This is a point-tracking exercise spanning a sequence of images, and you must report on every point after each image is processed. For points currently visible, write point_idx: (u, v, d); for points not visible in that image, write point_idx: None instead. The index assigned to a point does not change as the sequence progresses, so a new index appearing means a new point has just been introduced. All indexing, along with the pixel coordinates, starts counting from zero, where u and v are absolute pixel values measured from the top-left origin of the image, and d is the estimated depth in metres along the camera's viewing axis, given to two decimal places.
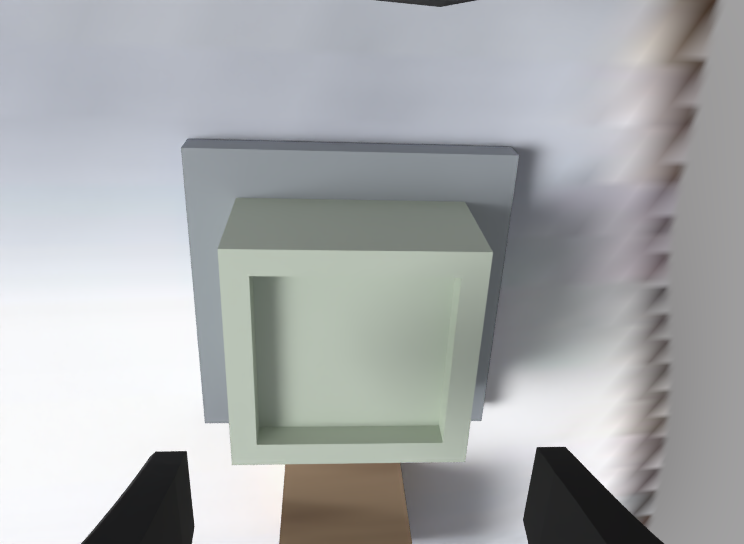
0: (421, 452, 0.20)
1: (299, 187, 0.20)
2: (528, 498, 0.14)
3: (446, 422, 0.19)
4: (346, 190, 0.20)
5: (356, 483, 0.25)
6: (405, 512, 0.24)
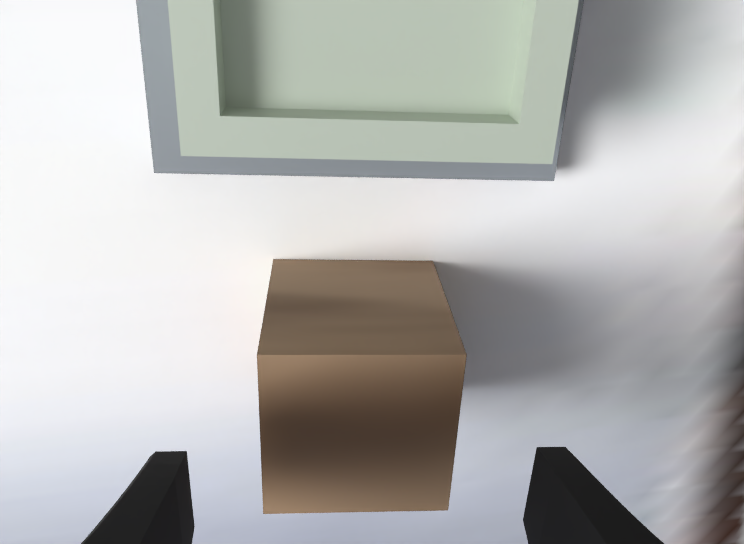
0: (483, 141, 0.12)
1: None
2: (528, 498, 0.14)
3: (527, 83, 0.12)
4: None
5: (373, 279, 0.17)
6: (446, 306, 0.16)
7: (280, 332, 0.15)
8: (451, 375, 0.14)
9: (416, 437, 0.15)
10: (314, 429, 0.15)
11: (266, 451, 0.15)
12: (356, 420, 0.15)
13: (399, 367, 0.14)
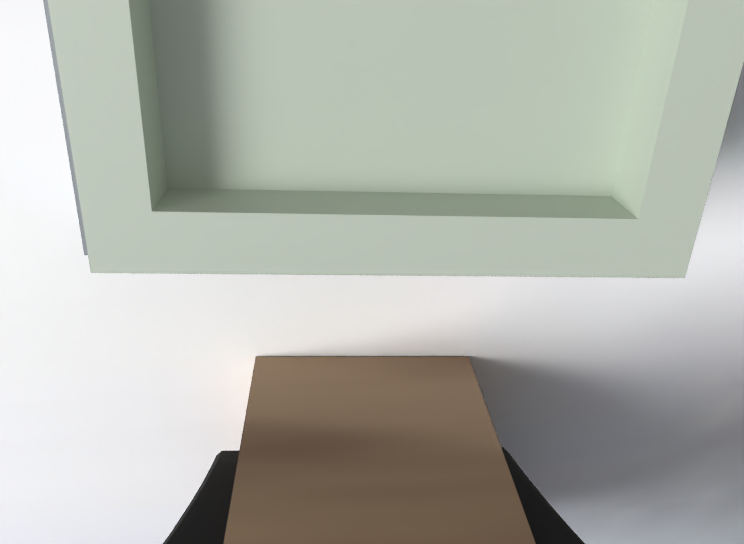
0: (579, 246, 0.08)
1: None
2: None
3: (657, 156, 0.07)
4: None
5: (391, 393, 0.13)
6: (495, 443, 0.12)
7: (259, 503, 0.10)
8: None
9: None
10: None
11: None
12: None
13: None
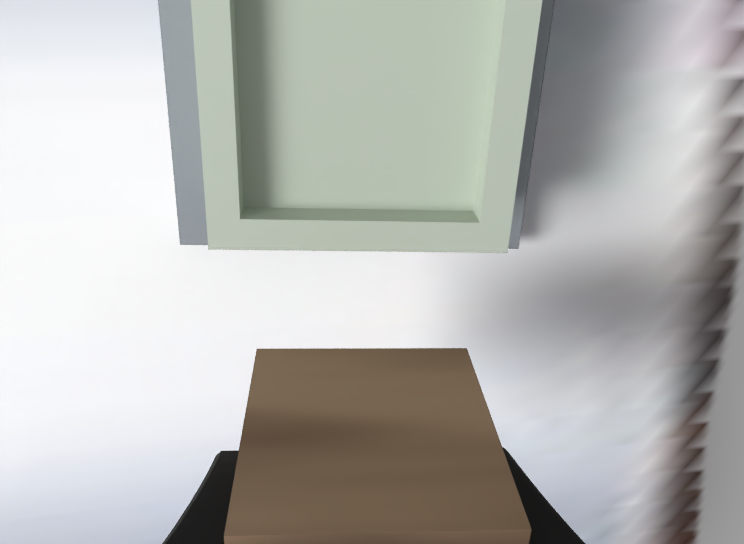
0: (451, 236, 0.15)
1: None
2: None
3: (485, 192, 0.15)
4: None
5: (390, 384, 0.13)
6: (492, 432, 0.12)
7: (260, 489, 0.10)
8: None
9: None
10: None
11: None
12: None
13: None
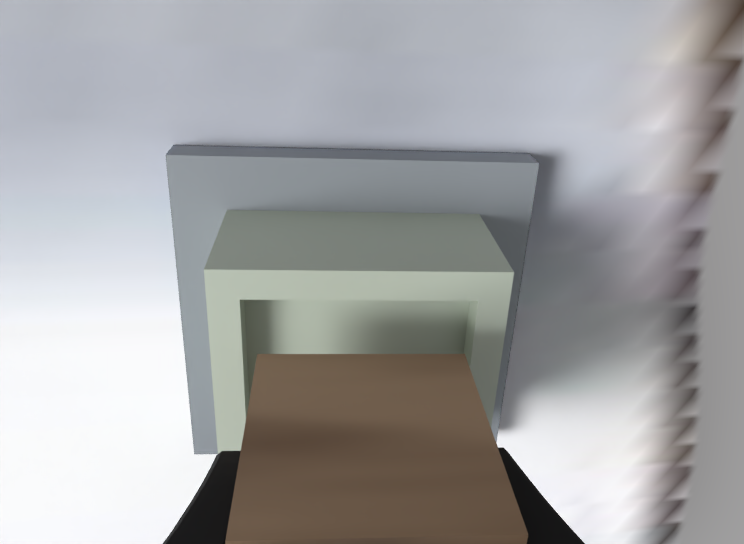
0: None
1: (297, 198, 0.18)
2: None
3: None
4: (348, 202, 0.18)
5: (389, 390, 0.13)
6: (490, 438, 0.12)
7: (260, 495, 0.10)
8: None
9: None
10: None
11: None
12: None
13: None
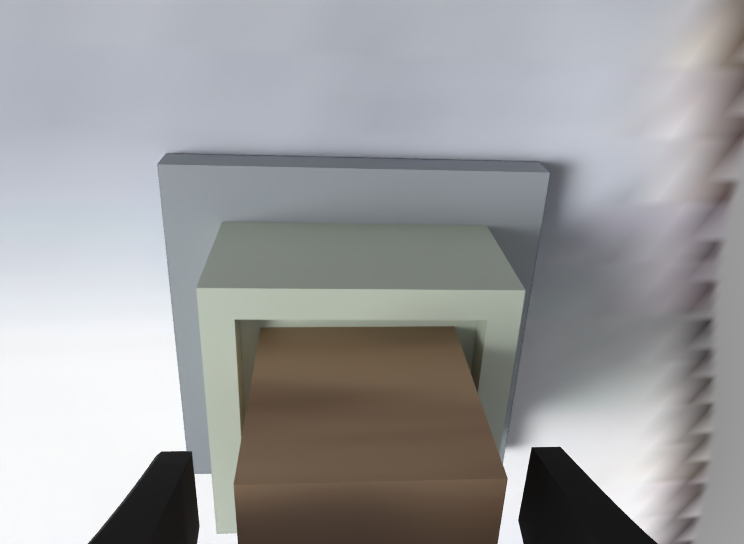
0: None
1: (295, 209, 0.17)
2: (523, 498, 0.14)
3: None
4: (349, 213, 0.17)
5: (383, 357, 0.14)
6: (475, 398, 0.13)
7: (265, 446, 0.11)
8: (487, 503, 0.11)
9: None
10: None
11: None
12: None
13: (420, 495, 0.11)
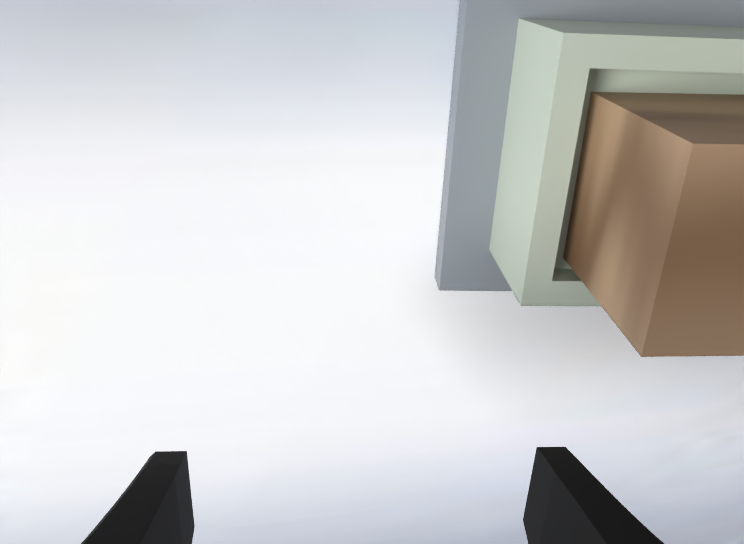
0: None
1: (587, 7, 0.18)
2: (528, 498, 0.14)
3: None
4: (636, 12, 0.18)
5: (726, 104, 0.15)
6: None
7: (691, 131, 0.13)
8: None
9: None
10: (728, 246, 0.13)
11: (668, 273, 0.13)
12: None
13: None
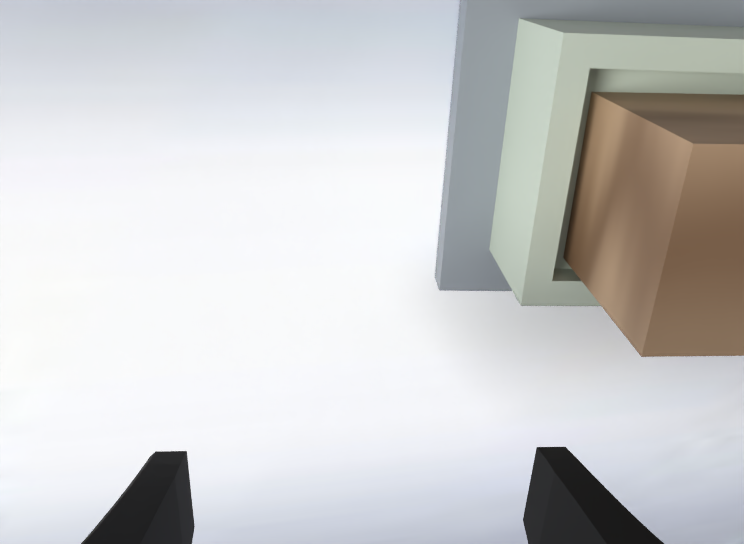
0: None
1: (588, 7, 0.18)
2: (528, 498, 0.14)
3: None
4: (636, 12, 0.18)
5: (726, 104, 0.15)
6: None
7: (691, 131, 0.13)
8: None
9: None
10: (728, 246, 0.13)
11: (668, 273, 0.13)
12: None
13: None
